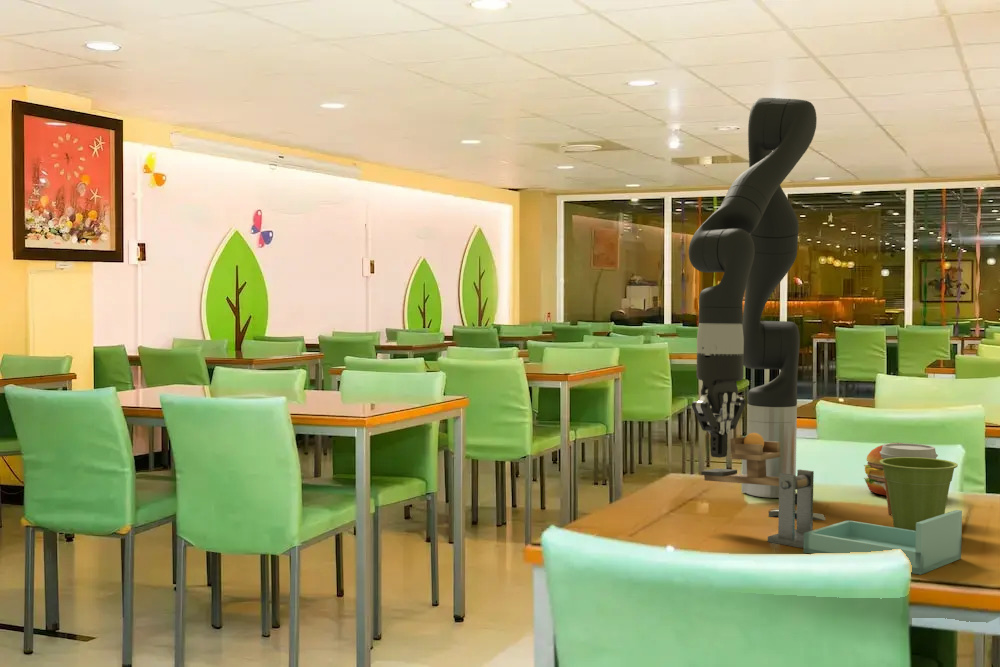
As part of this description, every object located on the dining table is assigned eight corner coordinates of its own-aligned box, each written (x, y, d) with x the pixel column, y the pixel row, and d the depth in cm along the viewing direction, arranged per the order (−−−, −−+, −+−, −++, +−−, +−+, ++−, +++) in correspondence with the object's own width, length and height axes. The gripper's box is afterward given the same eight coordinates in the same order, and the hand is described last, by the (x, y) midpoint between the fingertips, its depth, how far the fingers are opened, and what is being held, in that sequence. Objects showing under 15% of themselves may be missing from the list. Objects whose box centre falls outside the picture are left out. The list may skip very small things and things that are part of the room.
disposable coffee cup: (941, 521, 186) (942, 451, 185) (882, 518, 188) (883, 449, 187) (931, 510, 195) (932, 443, 195) (875, 508, 197) (876, 442, 197)
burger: (851, 494, 211) (852, 443, 211) (879, 486, 222) (880, 436, 221) (922, 503, 202) (923, 449, 202) (947, 494, 213) (948, 443, 212)
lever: (812, 487, 171) (810, 438, 171) (792, 491, 167) (790, 441, 167) (719, 480, 183) (717, 434, 183) (698, 484, 179) (697, 437, 179)
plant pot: (876, 521, 185) (878, 455, 185) (952, 526, 182) (953, 458, 182) (879, 535, 174) (881, 465, 174) (960, 541, 171) (961, 469, 170)
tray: (803, 553, 162) (804, 505, 161) (847, 539, 171) (848, 494, 171) (920, 574, 149) (921, 523, 149) (960, 558, 159) (962, 510, 159)
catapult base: (828, 540, 170) (830, 472, 170) (802, 548, 165) (804, 478, 164) (794, 534, 175) (795, 467, 174) (767, 541, 169) (768, 473, 169)
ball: (741, 454, 175) (738, 434, 175) (752, 452, 177) (749, 433, 177) (758, 452, 173) (755, 432, 173) (769, 451, 175) (766, 431, 175)
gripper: (722, 349, 187) (721, 451, 187) (677, 351, 177) (676, 458, 178) (761, 351, 181) (760, 455, 182) (717, 352, 172) (715, 463, 172)
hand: (718, 456), depth 180 cm, fingers closed
